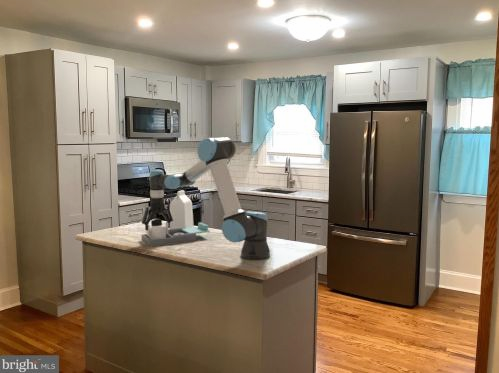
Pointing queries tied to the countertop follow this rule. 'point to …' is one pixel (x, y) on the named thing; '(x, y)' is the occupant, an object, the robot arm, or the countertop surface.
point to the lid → (197, 229)
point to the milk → (181, 212)
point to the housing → (170, 238)
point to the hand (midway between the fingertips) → (157, 234)
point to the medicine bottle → (157, 230)
